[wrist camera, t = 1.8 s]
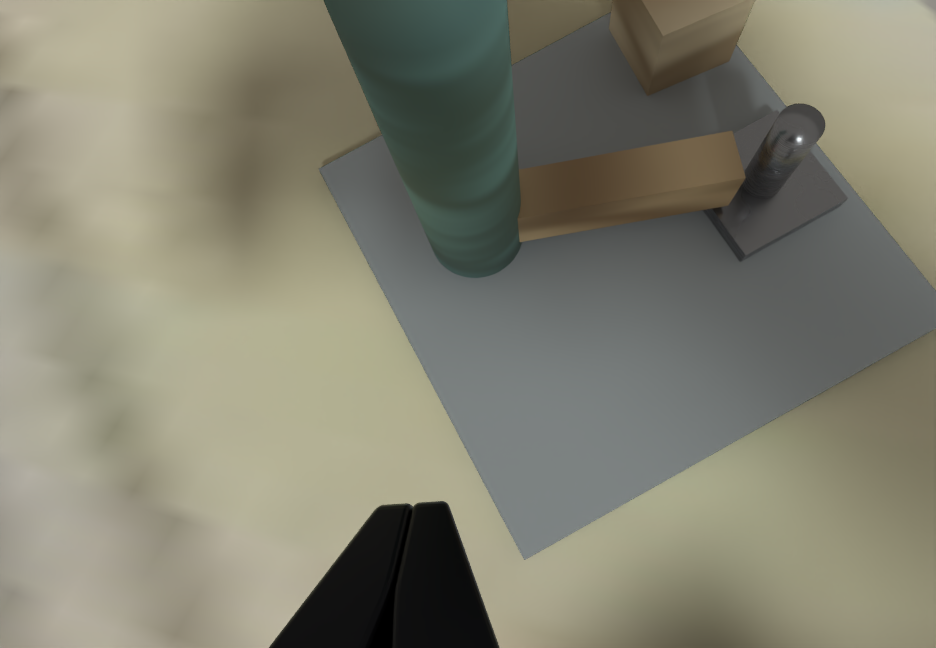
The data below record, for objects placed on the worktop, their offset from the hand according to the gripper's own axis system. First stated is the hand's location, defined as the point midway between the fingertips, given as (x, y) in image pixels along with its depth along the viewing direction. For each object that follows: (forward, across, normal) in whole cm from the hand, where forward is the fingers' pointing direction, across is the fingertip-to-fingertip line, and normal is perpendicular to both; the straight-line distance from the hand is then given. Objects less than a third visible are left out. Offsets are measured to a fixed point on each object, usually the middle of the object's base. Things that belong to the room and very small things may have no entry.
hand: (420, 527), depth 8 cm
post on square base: (+15, -9, +2) cm, 18 cm away
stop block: (+19, -7, -2) cm, 20 cm away
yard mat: (+14, -4, +3) cm, 15 cm away
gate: (+15, -3, +2) cm, 15 cm away
